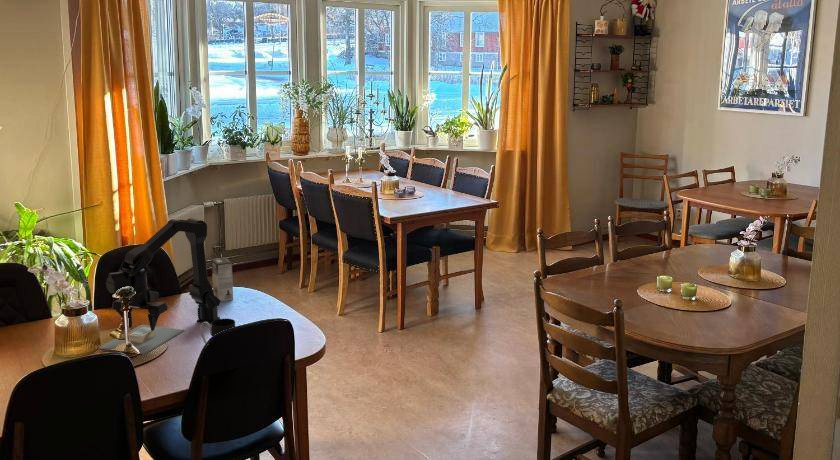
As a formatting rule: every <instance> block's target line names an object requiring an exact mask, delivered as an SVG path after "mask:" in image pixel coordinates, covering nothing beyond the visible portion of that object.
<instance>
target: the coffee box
mask: <svg viewBox="0 0 840 460" xmlns="http://www.w3.org/2000/svg"><path fill="white" fill-rule="evenodd" d="M210 263H211V278H212V280H211V281H212V289H213V292H214V296H216V297H217V298H218V299H220V302H226V301H232V300H234V285H233V283H234V282H233V263H232V261H231V260H230V259H229V258H227V257H226V256H224V257H217V258H212V259H211V261H210Z"/></svg>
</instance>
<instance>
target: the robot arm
mask: <svg viewBox="0 0 840 460" xmlns="http://www.w3.org/2000/svg"><path fill="white" fill-rule="evenodd" d="M179 232H184V234H185V237H186V239H187V240H188V243H189V245H190V252H191V253H190V254H191V261H192V270H193V271H192V273H193V282H192V284H189V285H188V289H189V296H191V299H193V301H194V303H195V304H197V305H198V307H197V320H196V322H197V323H203V322H208V323H209V324H211V322H212V321H214V320H217V319H221V316H219V315H218V306H220V305H221V301H220V299H218V298H217V297H216V296H214V292H213V285H212V284H211V283H210V281H209V279H208V269H207V261H206V252H205V251H206V249H205V241H206V238H207V236H208V224H207V223H206V221H204V220H201V219H197V218H193V217H190V218H187V219H175V218H171V219H169V220H168V221H167V223H166V224H164V226H162V227H161V228H160V229H159V230H158V231H156V233H154V234H153V235H152V236H151V237H150V238H149V239H148V240H146V242H145V243H143V244H141V245H138V246H136V247H134V248H132V249H130V250H129V251H127V253H126V254H125V255H124V260H123V262H122V263H121V265H120V267H119V269H118V271H117V272H109V273H108V277H107V278H106V282H105V285H106V289H107V291H108V292H109V293H110V294H115V293H117V292H116V291H117V290H118V289H120V288H122V287H125V286H132V287H133V288H134V290H135V291H136V294H135V295H134V296H133V297H132V298H131V297H130V300H129V307H130V309H129V312H128V318H129V327H128V328H129V329H131V328H132V327H133V320H132V318H133V317H132V311H133V309H138V310H139V309H141V310H147V312H148V314H147V318H148V324H149V326H150V328H151V331H154V329H155V326H157V324H158V319H159V317H160V315H162V314H164V313H165V312H167V311H168V304H167V303H166V302H163V301H158V299H159V295H160V293H159V292H158V291H151V289H150V288H151V287H148V278H147V274H150V273H152V272H153V270H152V269H151V268H149V267H148V265H149V264H150V262H151V261H152V260H153V257H154V255H155V254H156V253H157V252H158V251H159V250H160V249H161V248H162V247H163V246H164V245H165V244H167V243H168V242H169V240H171V239H172V238H173V237H175V235H176V234H177V233H179ZM119 299H120V298H118V299H116V300H114V301H113V303H112V310H115V312H116V313H118V314H119V316H120V317H121V318H122V319H123V312H122V308H121V301H120V300H119ZM153 301H155V302H153Z"/></svg>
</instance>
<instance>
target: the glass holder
mask: <svg viewBox="0 0 840 460" xmlns="http://www.w3.org/2000/svg"><path fill="white" fill-rule="evenodd" d="M204 324H206V325H207V326H208V329H209V334H210V336H211V337H212V336H214V335H215V334H217V333H219V332H221V331H223V330H226V329H229V328H232V327H235V328H236V321H235V319H232V318H220V319H217V320H214V321H212V322H211V323H208V322H201V324H200V329H199V330H200V334H201V338H202V340H203V342H204V345H206V343H208V342H207V340H206V337H205V334H204V329H203V325H204Z"/></svg>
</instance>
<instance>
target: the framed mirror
mask: <svg viewBox="0 0 840 460" xmlns="http://www.w3.org/2000/svg"><path fill="white" fill-rule="evenodd" d="M155 335H156V334H155V329H154V331H151V328H146V327H142V328H141V329H139V330H137V331H135V332H133V333H131V334H130V335H129V340H130V342H137V343H143V342H145V341H147V340H148V339H150V338H152V337H153V336H155Z"/></svg>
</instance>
